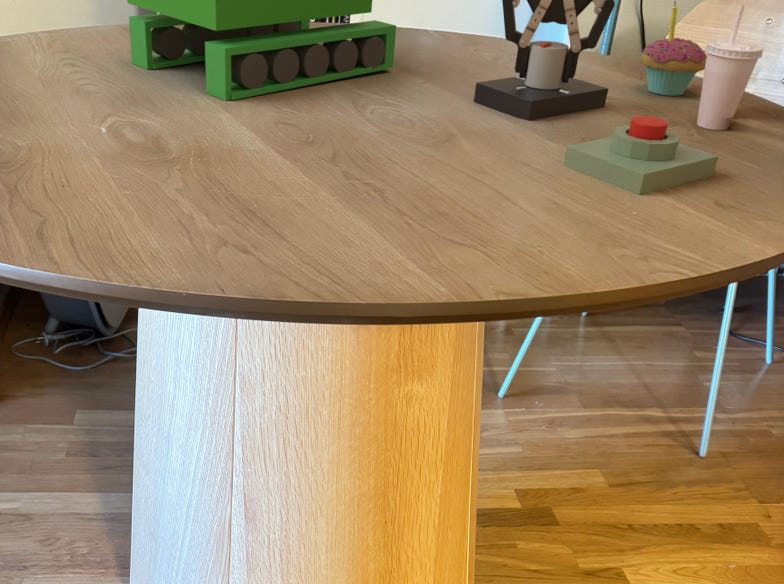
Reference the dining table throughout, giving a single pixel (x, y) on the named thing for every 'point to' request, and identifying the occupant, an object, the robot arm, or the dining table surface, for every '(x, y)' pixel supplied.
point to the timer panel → (539, 98)
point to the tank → (260, 42)
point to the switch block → (640, 161)
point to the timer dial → (545, 64)
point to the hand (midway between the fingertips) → (543, 78)
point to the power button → (648, 128)
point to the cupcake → (672, 62)
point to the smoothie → (726, 78)
